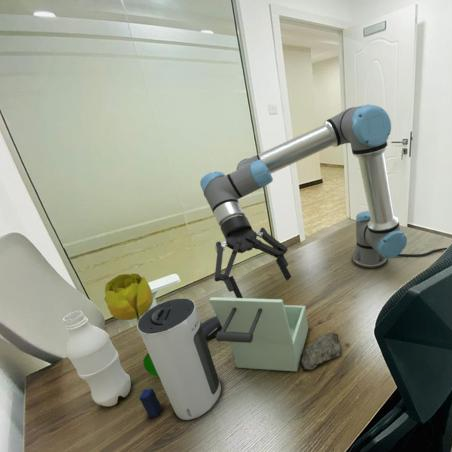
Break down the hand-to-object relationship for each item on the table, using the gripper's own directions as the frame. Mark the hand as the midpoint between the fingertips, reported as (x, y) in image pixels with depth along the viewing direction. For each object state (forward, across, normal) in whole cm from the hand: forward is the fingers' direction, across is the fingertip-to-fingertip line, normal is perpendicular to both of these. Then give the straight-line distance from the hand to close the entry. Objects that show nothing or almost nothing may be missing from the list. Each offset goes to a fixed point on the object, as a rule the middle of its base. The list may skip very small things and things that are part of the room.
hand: (266, 289), depth 68 cm
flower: (+5, +27, -23) cm, 36 cm away
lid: (+6, +6, +2) cm, 9 cm away
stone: (+22, -8, -7) cm, 25 cm away
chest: (+14, 0, -15) cm, 20 cm away
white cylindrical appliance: (+14, +22, -14) cm, 30 cm away
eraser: (+12, +30, -16) cm, 36 cm away
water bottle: (+4, +37, -25) cm, 44 cm away
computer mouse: (+2, +15, -27) cm, 30 cm away
